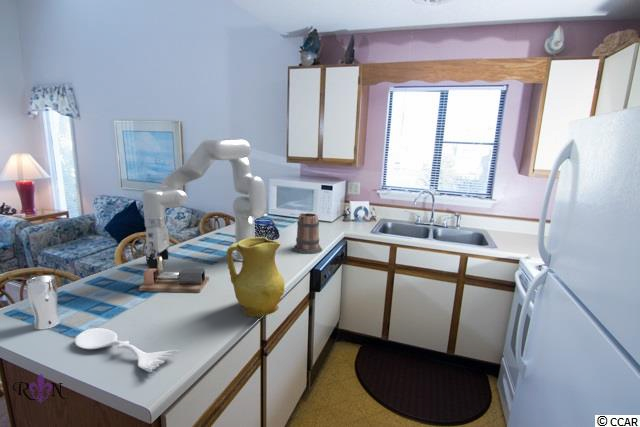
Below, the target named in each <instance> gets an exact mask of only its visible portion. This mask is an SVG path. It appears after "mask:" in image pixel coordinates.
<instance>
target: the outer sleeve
mask: <svg viewBox="0 0 640 427" xmlns="http://www.w3.org/2000/svg"><path fill="white" fill-rule="evenodd" d="M205 277H206V268H197V267H196V268H195V267H194V268H193V267H190V268H189V267H183V268H182V269H181V270H180V271H179V283H180V285H202V284H203V282H204V281H205Z"/></svg>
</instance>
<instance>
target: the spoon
mask: <svg viewBox="0 0 640 427" xmlns="http://www.w3.org/2000/svg"><path fill="white" fill-rule="evenodd" d="M74 344H75V346H76V347H78V348H80V349H84V350H97V349H102V348H106V347H110V346H117V349H127V350H130V351H131V352H132V353H133V354H134V356H136V358H137V366H138V367H139V368H140V369H142V370H144V371H146V372H148V373H152V372H153V370H155V369H157V367H158V368H159V367H160V365H162V364H165V361H168V360H170V358H171V357H174V356H175V355H176V354H178V353H179V350H178V349H170V350H165V351H164V350H163V351H162V350H161V351H154V352H144V351H143V350H141V349H139V348H138V347H136V346H134V345H133V344H130V341H128V340H123V341H121V340H118V334H117V333H116V332H115V331H113V330H111V329H107V328H101V327H95V328H93V327H92V328H88V329H86V330H84V331H81V332H80V333H78V334H77V335H76V336H75V338H74ZM174 354H175V355H174Z"/></svg>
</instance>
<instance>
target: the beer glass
mask: <svg viewBox="0 0 640 427" xmlns="http://www.w3.org/2000/svg"><path fill="white" fill-rule="evenodd" d="M55 277H56V276H54V275H53V274H46V275H38V276H33V277H32V278H30V279H27V280H26V295H27V300H28V303H29V306H30V309H31V310H32V313H33V316H34V324H33V325H34V329H35V330H38V331H42V330H48V329H51V328H54V327H56V326H58V325H59V324H60V322H61V320H60V318H59V314H58V297H59V294H58V292H59V291H58V285H57V281H56V278H55Z"/></svg>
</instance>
